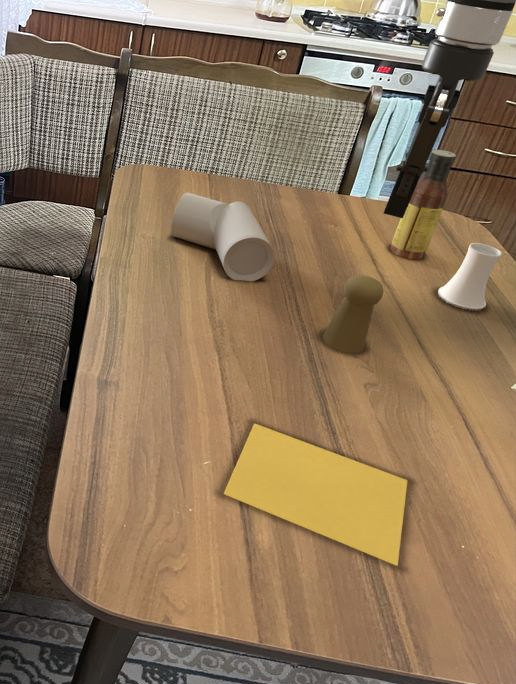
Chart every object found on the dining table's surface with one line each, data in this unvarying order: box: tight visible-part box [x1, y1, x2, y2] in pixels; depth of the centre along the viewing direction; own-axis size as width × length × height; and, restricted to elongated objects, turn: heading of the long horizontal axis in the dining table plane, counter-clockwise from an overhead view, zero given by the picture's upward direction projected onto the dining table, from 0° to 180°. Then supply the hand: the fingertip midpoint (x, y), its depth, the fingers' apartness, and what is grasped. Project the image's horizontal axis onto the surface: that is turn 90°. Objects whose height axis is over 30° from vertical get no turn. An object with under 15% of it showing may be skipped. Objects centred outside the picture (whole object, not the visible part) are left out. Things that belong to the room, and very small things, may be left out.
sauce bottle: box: [390, 149, 457, 261], centre depth 127 cm, size 6×6×20 cm
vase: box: [437, 242, 503, 312], centre depth 115 cm, size 8×8×10 cm
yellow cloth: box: [223, 422, 408, 567], centre depth 77 cm, size 18×14×1 cm
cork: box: [322, 274, 385, 354], centre depth 100 cm, size 6×6×11 cm
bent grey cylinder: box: [170, 192, 275, 282], centre depth 121 cm, size 18×10×20 cm
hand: (393, 214), depth 100 cm, fingers closed
